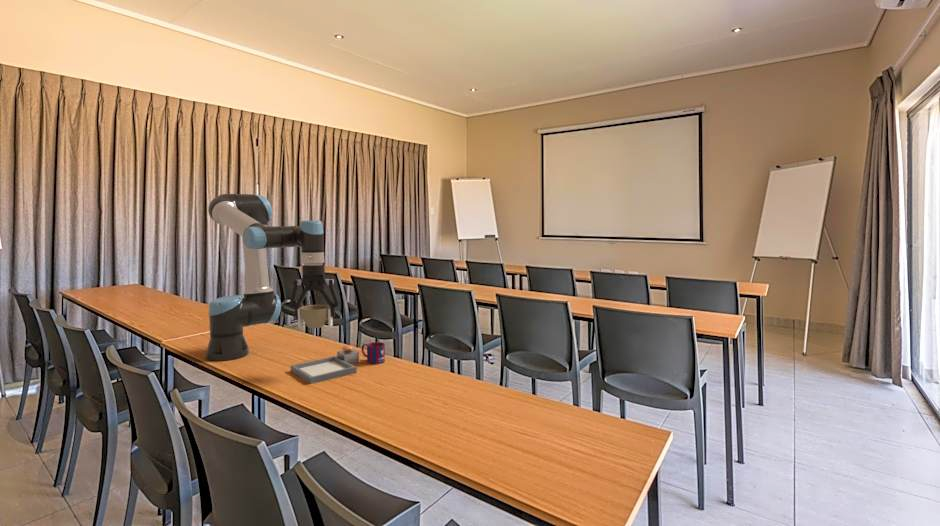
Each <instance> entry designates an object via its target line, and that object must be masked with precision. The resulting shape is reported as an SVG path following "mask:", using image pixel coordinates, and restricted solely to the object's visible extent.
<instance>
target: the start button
mask: <svg viewBox="0 0 940 526" xmlns="http://www.w3.org/2000/svg"><path fill="white" fill-rule="evenodd" d="M352 349H353V350H354V345H343V346H342V350H345V353H351V350H352ZM342 350H341V351H342Z"/></svg>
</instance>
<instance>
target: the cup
mask: <svg viewBox="0 0 940 526" xmlns="http://www.w3.org/2000/svg"><path fill="white" fill-rule="evenodd" d="M365 346H366V353H365V351H364V350H365V349H364V348H365ZM385 346H386V344H385V343H384V342H381V341H380V342H378V341H376V342H375V341H374V342H369V343H363V344H362V346H361V353H362V355H363V356H364V357H365V358H366V359H367V361H366V362H367V363H368V364H370V365H380V364H384V363H385V361H386V353H385V352H386V351H385V350H386V347H385Z"/></svg>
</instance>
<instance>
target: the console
mask: <svg viewBox="0 0 940 526" xmlns="http://www.w3.org/2000/svg"><path fill="white" fill-rule="evenodd" d="M336 357H338V358H340V359H342V360H344V361H346V362H348V363H350V364H352V365H354V364H356V363H360V352H359V351H357V350H355V349H354V348H353V349H352V350H351V353H345V350H338V351H336Z"/></svg>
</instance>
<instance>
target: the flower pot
mask: <svg viewBox="0 0 940 526" xmlns="http://www.w3.org/2000/svg"><path fill="white" fill-rule="evenodd" d="M328 308H330V306H329V305H325V304H309V305H305V306H301V307H300V311H301V315H302V318H303V323H305V326H306V327H307V328H308V329H320V328H322V327H324V326H325V323H326V322H327V319H328Z"/></svg>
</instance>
